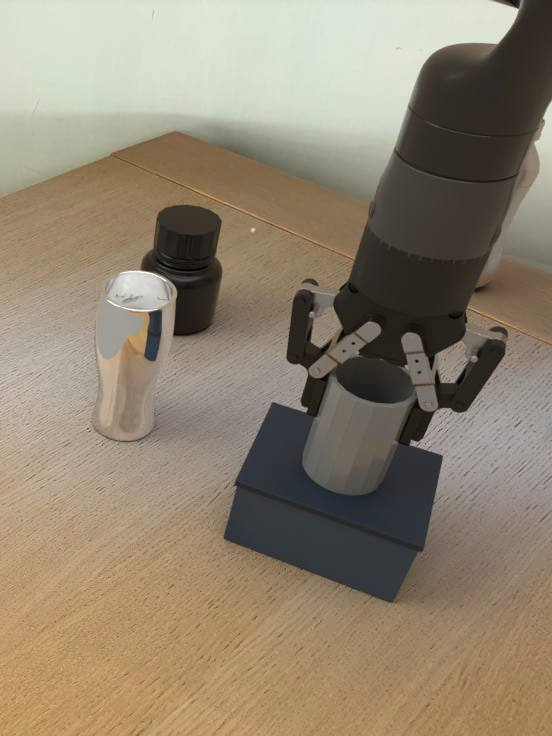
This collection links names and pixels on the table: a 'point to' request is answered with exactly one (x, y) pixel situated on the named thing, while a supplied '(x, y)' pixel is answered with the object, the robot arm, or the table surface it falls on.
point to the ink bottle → (188, 262)
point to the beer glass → (131, 350)
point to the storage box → (332, 510)
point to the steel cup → (358, 425)
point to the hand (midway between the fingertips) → (357, 423)
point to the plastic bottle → (513, 208)
